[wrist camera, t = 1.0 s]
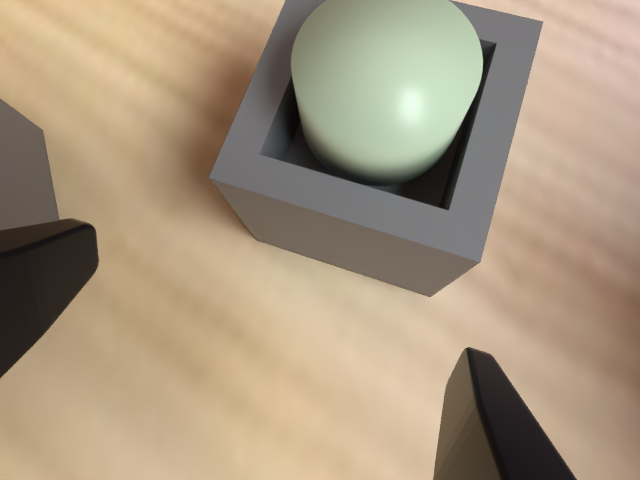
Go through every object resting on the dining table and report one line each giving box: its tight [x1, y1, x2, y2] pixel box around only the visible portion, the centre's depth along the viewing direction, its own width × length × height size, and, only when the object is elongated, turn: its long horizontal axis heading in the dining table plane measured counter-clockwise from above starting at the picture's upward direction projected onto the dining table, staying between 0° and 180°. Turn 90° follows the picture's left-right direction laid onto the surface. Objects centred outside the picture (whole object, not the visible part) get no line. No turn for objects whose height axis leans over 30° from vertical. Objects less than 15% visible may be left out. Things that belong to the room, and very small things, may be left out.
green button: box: [291, 0, 483, 186], centre depth 14 cm, size 6×6×3 cm
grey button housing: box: [209, 0, 543, 297], centre depth 19 cm, size 9×9×8 cm
